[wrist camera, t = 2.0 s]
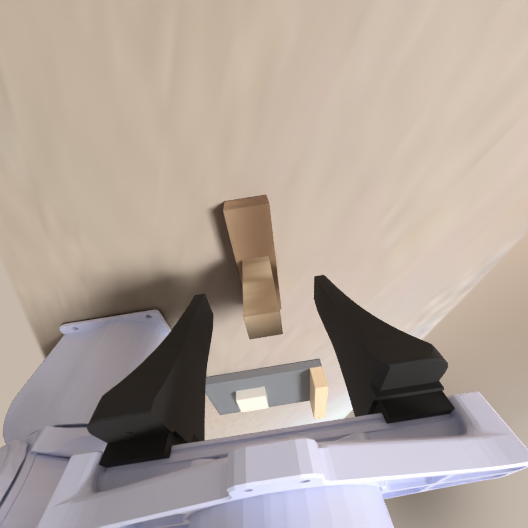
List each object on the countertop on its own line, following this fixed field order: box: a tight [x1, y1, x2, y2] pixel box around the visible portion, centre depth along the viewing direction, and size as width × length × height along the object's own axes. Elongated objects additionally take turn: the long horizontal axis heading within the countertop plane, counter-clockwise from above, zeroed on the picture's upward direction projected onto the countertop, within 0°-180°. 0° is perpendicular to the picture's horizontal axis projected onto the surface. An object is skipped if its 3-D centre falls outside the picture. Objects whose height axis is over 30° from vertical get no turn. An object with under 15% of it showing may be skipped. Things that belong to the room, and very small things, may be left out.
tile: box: [236, 387, 269, 412], centre depth 30 cm, size 4×4×1 cm
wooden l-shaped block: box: [223, 195, 283, 339], centre depth 15 cm, size 3×10×8 cm, turn 7°
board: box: [205, 359, 328, 419], centre depth 30 cm, size 16×10×4 cm, turn 97°
